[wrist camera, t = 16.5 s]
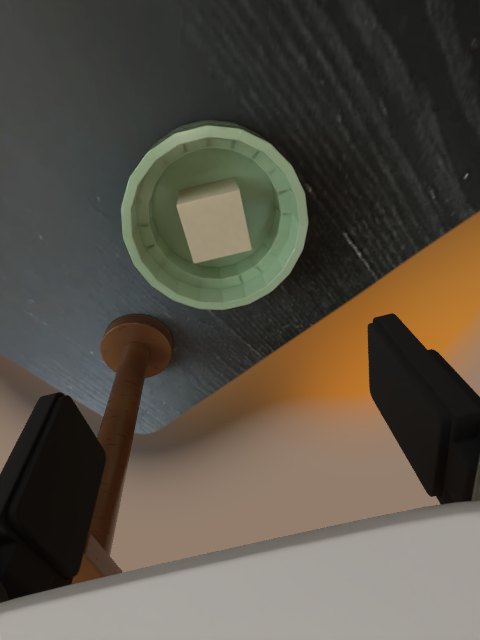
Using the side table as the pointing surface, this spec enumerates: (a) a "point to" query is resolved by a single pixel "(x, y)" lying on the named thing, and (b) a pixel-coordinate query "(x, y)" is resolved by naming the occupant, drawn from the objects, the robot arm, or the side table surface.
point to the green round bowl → (258, 202)
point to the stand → (121, 426)
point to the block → (214, 220)
